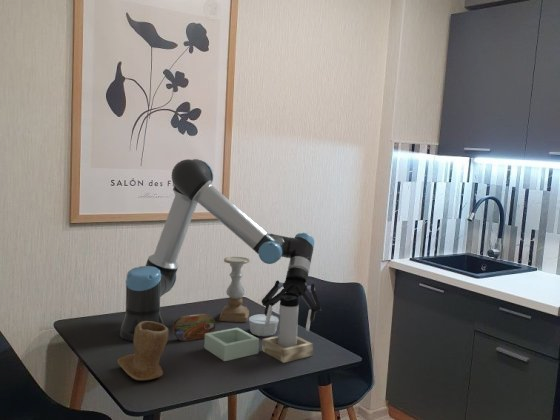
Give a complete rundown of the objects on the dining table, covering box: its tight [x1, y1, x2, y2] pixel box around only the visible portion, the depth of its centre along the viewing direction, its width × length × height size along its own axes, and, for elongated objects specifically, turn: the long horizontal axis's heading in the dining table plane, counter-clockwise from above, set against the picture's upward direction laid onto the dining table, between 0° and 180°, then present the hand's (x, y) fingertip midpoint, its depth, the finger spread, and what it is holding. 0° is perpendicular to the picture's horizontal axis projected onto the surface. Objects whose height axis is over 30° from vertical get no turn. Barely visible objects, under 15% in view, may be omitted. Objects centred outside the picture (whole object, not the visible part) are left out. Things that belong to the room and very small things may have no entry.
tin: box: [172, 313, 216, 342], centre depth 182 cm, size 15×3×8 cm, turn 117°
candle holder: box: [218, 256, 250, 323], centre depth 206 cm, size 11×11×24 cm
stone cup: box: [117, 321, 170, 381], centre depth 151 cm, size 15×12×15 cm
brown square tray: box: [261, 335, 314, 363], centre depth 172 cm, size 12×12×4 cm
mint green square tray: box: [203, 327, 260, 362], centre depth 171 cm, size 13×13×5 cm
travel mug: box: [277, 292, 300, 348], centre depth 171 cm, size 6×7×20 cm
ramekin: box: [248, 313, 279, 337], centre depth 191 cm, size 11×11×5 cm
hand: (286, 326), depth 169 cm, fingers open, 13 cm apart
